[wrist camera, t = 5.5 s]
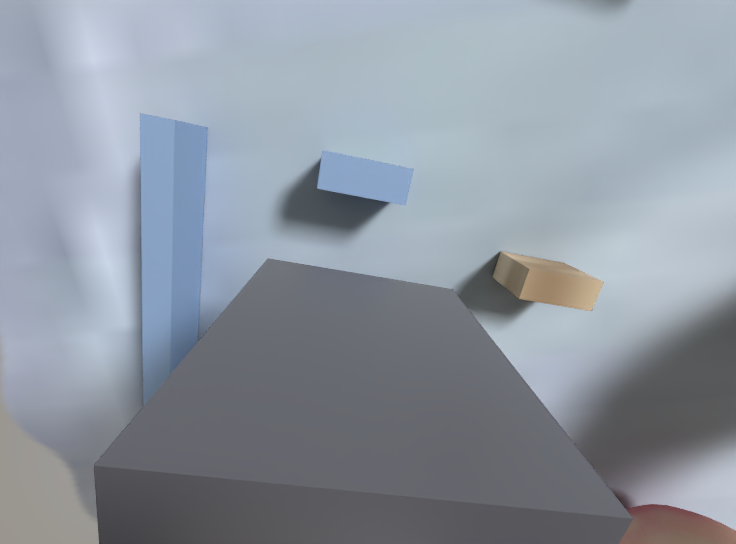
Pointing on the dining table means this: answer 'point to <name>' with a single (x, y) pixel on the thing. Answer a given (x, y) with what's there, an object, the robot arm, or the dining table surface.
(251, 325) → the tall grey block
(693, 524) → the decorative fruit
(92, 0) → the dining table surface
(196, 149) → the separate blue rectangular blocks
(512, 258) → the tan wooden block
